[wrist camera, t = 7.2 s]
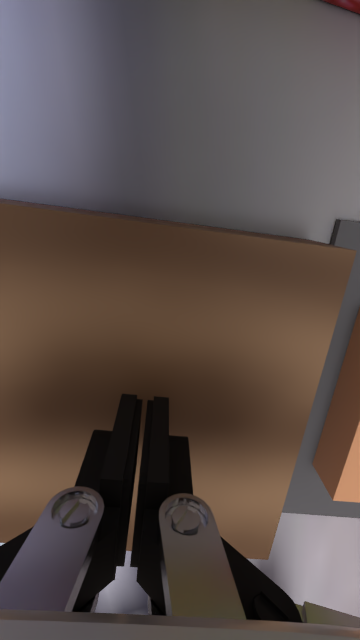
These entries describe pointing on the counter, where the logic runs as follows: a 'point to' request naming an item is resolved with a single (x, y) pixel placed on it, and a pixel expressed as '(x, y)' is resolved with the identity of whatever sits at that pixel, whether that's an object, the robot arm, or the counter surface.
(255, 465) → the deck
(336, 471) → the tile
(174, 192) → the counter surface
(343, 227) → the mat
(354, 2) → the snack box
